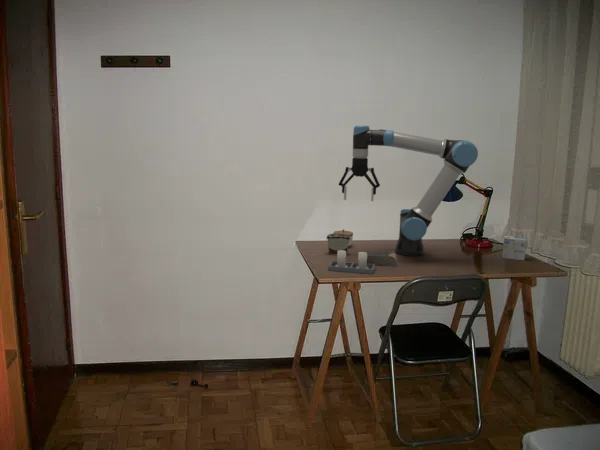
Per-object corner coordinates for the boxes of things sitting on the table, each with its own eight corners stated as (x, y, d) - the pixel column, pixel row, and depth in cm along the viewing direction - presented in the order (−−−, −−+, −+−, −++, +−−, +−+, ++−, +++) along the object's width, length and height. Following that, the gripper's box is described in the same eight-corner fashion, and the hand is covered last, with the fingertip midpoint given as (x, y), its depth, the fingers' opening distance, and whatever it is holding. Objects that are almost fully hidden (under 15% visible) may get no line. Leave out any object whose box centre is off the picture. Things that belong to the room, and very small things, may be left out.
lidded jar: (353, 248, 273) (354, 231, 271) (333, 248, 273) (334, 231, 271) (351, 244, 284) (352, 227, 282) (332, 243, 284) (333, 227, 282)
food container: (349, 252, 266) (350, 233, 264) (349, 255, 259) (350, 236, 258) (326, 251, 267) (326, 232, 265) (325, 254, 261) (326, 235, 259)
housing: (374, 268, 237) (375, 251, 235) (372, 274, 227) (373, 256, 226) (331, 264, 241) (332, 248, 240) (328, 270, 232) (328, 252, 230)
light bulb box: (524, 257, 260) (527, 237, 258) (524, 260, 254) (526, 239, 252) (502, 255, 264) (504, 235, 262) (501, 258, 258) (503, 237, 256)
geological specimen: (364, 250, 251) (395, 249, 251) (365, 262, 252) (395, 261, 252) (366, 254, 241) (399, 254, 240) (366, 267, 242) (399, 266, 241)
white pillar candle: (369, 268, 235) (369, 251, 234) (367, 271, 230) (368, 254, 228) (356, 267, 236) (357, 250, 235) (355, 270, 231) (355, 253, 230)
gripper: (386, 157, 249) (384, 200, 253) (336, 156, 254) (335, 198, 259) (385, 158, 242) (383, 202, 246) (333, 157, 247) (332, 200, 252)
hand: (358, 200), depth 252 cm, fingers open, 13 cm apart
